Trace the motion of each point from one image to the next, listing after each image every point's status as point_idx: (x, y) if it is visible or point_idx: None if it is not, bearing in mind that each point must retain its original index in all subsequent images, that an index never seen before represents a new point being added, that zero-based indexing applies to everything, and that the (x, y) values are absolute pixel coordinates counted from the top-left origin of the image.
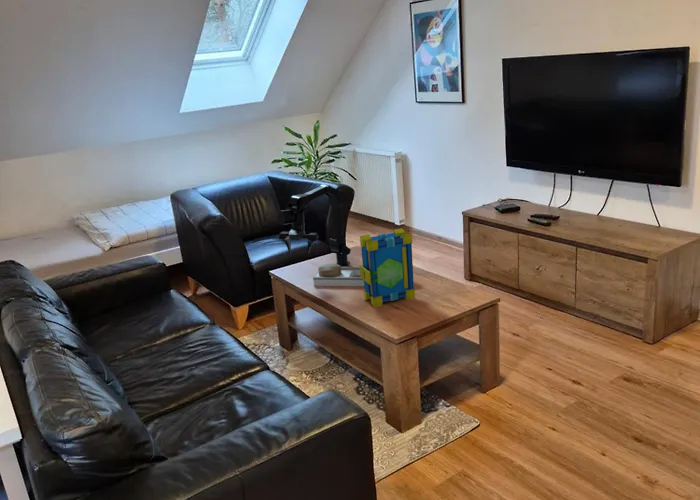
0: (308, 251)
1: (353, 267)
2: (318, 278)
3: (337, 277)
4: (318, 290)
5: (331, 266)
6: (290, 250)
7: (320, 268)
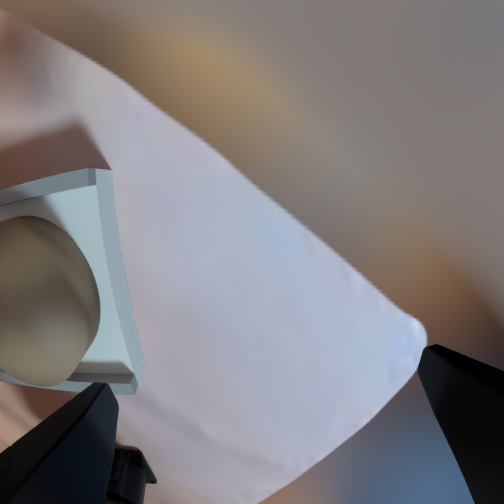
0: (65, 405)
1: None
2: (53, 175)
3: None
4: (63, 103)
5: (12, 337)
6: (437, 388)
7: (54, 292)
